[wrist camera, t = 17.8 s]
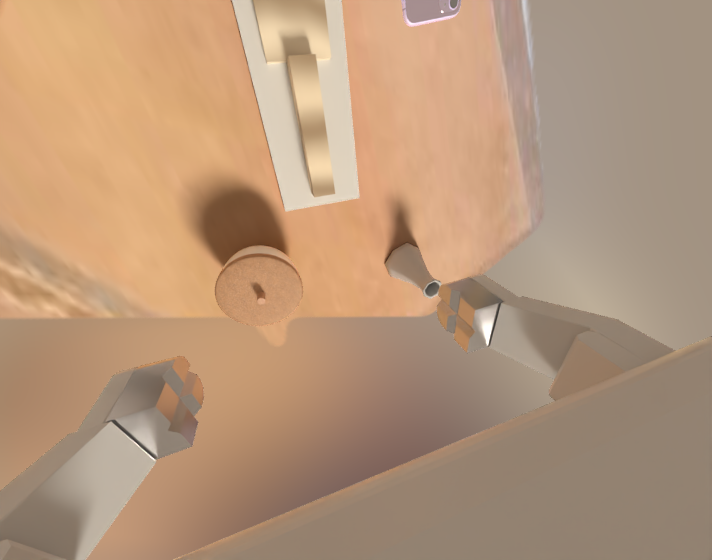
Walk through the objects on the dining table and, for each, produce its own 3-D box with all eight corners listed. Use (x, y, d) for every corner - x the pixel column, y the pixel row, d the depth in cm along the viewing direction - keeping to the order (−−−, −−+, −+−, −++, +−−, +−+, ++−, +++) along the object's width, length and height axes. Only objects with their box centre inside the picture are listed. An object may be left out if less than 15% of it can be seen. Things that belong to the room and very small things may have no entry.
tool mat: (285, 210, 36) (285, 211, 35) (210, -84, 22) (209, -89, 21) (358, 197, 38) (359, 198, 37) (332, -78, 24) (333, -83, 24)
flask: (377, 264, 45) (402, 294, 37) (407, 235, 44) (439, 258, 36) (400, 285, 49) (427, 316, 41) (427, 258, 48) (461, 285, 39)
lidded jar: (247, 306, 41) (243, 346, 34) (207, 251, 35) (191, 285, 28) (308, 280, 42) (316, 313, 35) (279, 223, 36) (282, 248, 29)
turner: (344, 187, 36) (350, 191, 34) (296, 195, 35) (298, 200, 32) (316, -49, 24) (322, -69, 22) (241, -50, 23) (238, -72, 20)
